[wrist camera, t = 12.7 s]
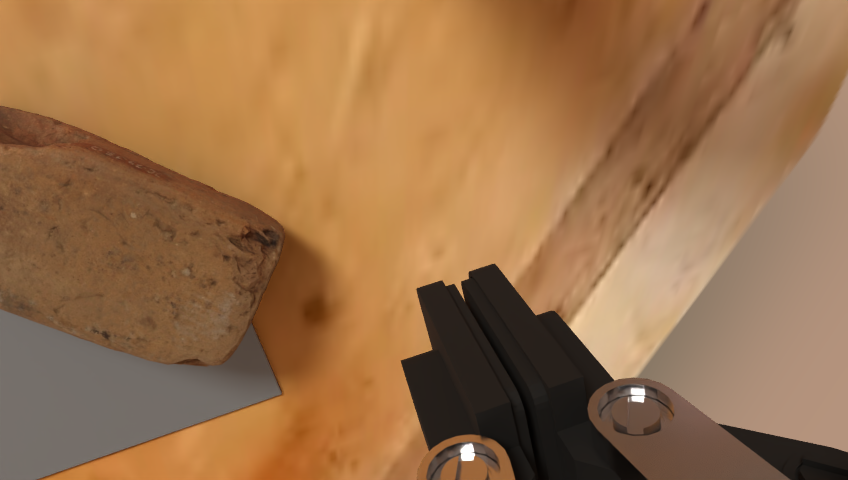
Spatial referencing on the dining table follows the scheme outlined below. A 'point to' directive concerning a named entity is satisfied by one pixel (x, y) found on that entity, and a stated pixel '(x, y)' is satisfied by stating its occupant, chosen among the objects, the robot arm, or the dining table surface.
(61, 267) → the block
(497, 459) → the robot arm
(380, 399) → the dining table surface
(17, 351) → the mat
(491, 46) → the dining table surface
